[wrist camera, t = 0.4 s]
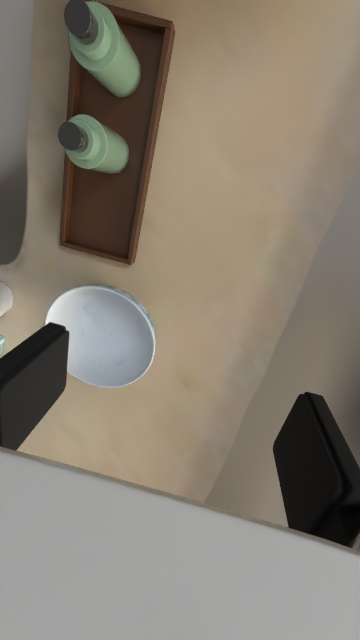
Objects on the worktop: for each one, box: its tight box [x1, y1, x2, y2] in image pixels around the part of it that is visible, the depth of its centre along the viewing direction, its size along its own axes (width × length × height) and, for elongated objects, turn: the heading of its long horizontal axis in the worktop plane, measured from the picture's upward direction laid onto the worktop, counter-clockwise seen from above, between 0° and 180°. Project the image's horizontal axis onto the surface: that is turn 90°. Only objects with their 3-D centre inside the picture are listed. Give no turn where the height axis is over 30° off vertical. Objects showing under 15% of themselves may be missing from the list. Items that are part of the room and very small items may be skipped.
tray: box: [60, 0, 175, 265], centre depth 34 cm, size 25×10×2 cm, turn 166°
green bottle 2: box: [58, 114, 129, 174], centre depth 30 cm, size 5×5×10 cm
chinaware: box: [45, 284, 155, 388], centre depth 41 cm, size 15×15×8 cm
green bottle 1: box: [64, 0, 141, 97], centre depth 27 cm, size 5×5×10 cm
